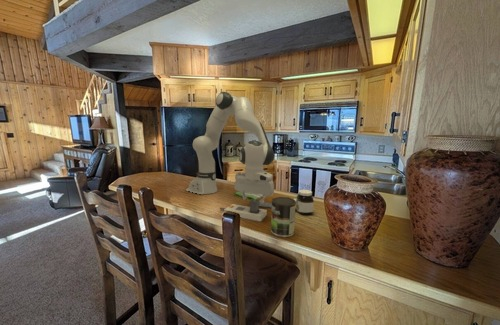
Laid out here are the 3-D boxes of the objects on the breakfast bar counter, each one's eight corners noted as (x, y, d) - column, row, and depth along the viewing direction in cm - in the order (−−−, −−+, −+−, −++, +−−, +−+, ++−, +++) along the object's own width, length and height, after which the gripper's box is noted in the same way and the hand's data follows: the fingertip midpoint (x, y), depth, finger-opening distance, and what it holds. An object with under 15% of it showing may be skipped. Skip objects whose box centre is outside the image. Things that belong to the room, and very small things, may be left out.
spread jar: (315, 215, 111) (316, 194, 110) (294, 216, 110) (295, 194, 108) (305, 207, 123) (306, 187, 121) (286, 208, 121) (287, 188, 119)
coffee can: (278, 239, 87) (279, 206, 85) (266, 228, 97) (267, 198, 94) (299, 234, 91) (301, 203, 89) (286, 224, 101) (287, 195, 98)
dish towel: (272, 192, 152) (273, 187, 151) (255, 201, 133) (255, 196, 132) (252, 188, 161) (252, 184, 160) (233, 196, 142) (233, 191, 142)
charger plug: (249, 216, 108) (250, 201, 107) (252, 214, 111) (252, 199, 110) (256, 217, 106) (256, 202, 105) (258, 215, 110) (259, 200, 108)
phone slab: (252, 206, 124) (252, 205, 124) (256, 203, 130) (256, 201, 130) (276, 210, 120) (276, 208, 120) (279, 205, 126) (279, 204, 126)
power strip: (216, 213, 112) (215, 206, 112) (224, 207, 121) (224, 201, 120) (260, 222, 103) (260, 215, 102) (266, 215, 111) (266, 208, 110)
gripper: (232, 173, 106) (232, 199, 109) (271, 178, 98) (270, 206, 100) (238, 170, 112) (237, 196, 114) (275, 175, 104) (274, 202, 106)
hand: (253, 201), depth 107 cm, fingers open, 8 cm apart
